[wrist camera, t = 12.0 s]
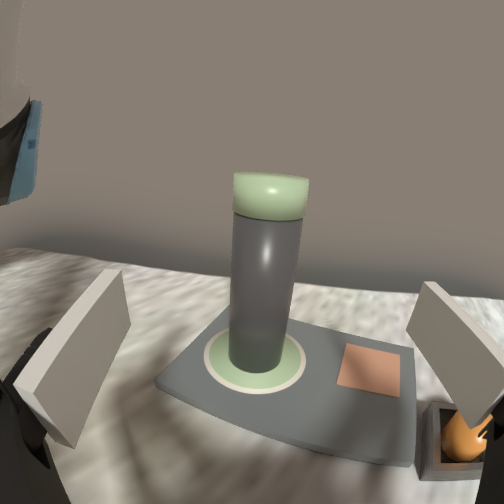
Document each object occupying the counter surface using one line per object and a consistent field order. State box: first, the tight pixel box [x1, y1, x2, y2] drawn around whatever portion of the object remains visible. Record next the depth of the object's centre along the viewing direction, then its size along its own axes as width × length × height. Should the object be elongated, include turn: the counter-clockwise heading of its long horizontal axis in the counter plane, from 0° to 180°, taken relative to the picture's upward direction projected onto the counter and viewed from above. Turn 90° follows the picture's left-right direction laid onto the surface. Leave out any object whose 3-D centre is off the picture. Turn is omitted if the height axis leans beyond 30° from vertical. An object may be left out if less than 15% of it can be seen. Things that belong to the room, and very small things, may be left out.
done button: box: [441, 410, 493, 463], centre depth 10 cm, size 4×4×2 cm
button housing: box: [420, 401, 486, 481], centre depth 11 cm, size 6×6×2 cm
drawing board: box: [154, 305, 416, 467], centre depth 19 cm, size 18×12×1 cm, turn 66°
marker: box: [228, 171, 309, 373], centre depth 18 cm, size 4×4×13 cm
